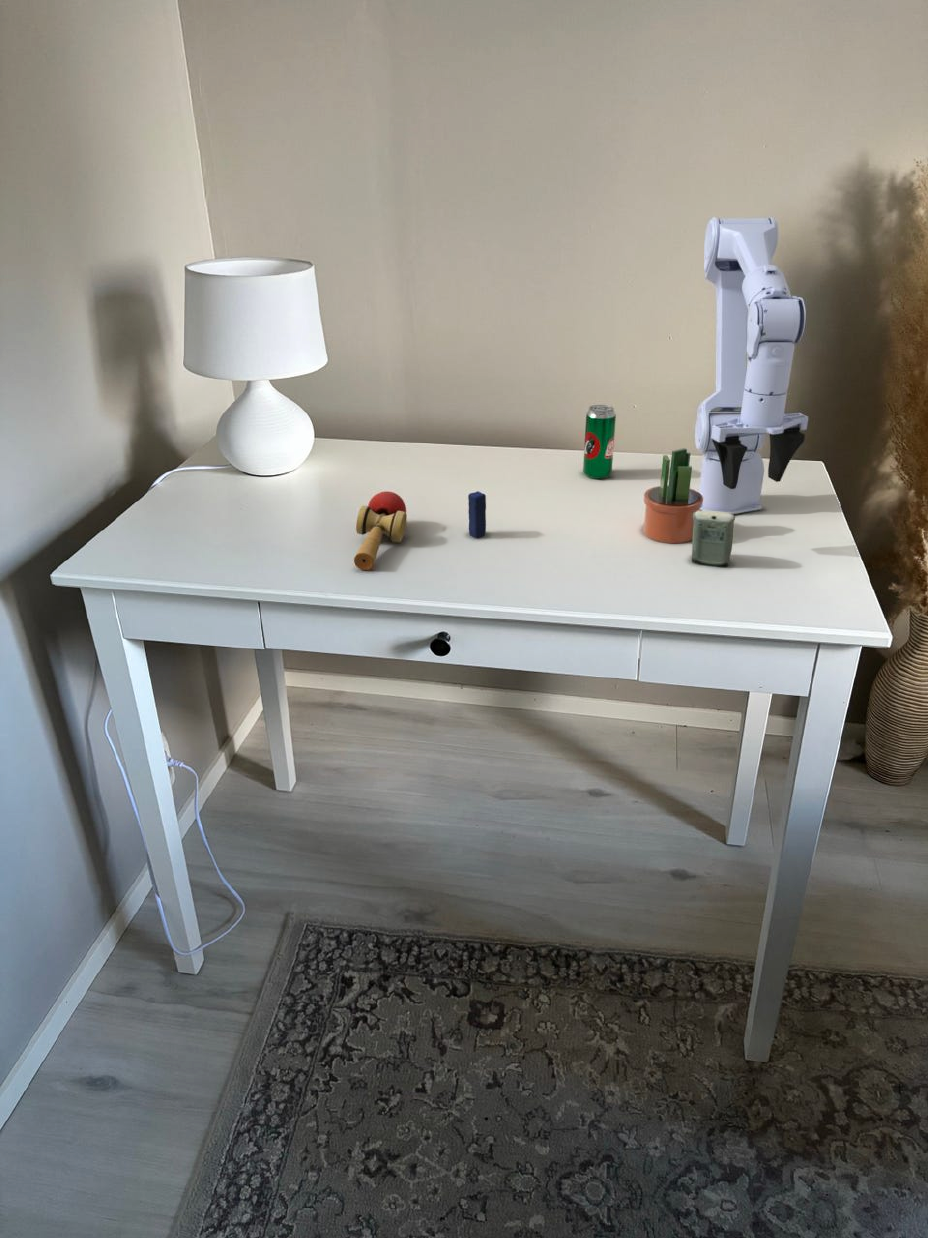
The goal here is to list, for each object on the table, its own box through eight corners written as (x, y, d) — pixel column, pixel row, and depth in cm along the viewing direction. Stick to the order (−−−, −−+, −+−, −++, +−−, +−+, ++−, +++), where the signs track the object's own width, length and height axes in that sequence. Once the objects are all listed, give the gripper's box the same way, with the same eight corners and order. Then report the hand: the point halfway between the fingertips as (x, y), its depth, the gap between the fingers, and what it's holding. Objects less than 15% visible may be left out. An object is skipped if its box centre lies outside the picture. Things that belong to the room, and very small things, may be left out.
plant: (679, 517, 155) (688, 436, 149) (710, 539, 148) (720, 455, 141) (630, 525, 152) (637, 443, 146) (659, 548, 145) (668, 462, 139)
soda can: (610, 480, 169) (615, 413, 163) (581, 478, 170) (585, 411, 164) (612, 470, 173) (617, 404, 168) (584, 468, 174) (587, 403, 168)
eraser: (487, 535, 150) (487, 494, 146) (475, 539, 149) (475, 497, 145) (478, 531, 151) (478, 489, 148) (467, 534, 150) (466, 493, 147)
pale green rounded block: (697, 572, 138) (704, 520, 134) (681, 557, 143) (687, 506, 139) (734, 568, 139) (742, 516, 135) (717, 552, 144) (724, 502, 140)
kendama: (397, 580, 140) (419, 514, 154) (386, 542, 136) (410, 479, 150) (346, 584, 141) (373, 519, 156) (334, 548, 138) (362, 485, 152)
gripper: (737, 403, 128) (724, 499, 134) (828, 391, 132) (811, 485, 139) (707, 389, 133) (696, 482, 140) (795, 378, 138) (781, 469, 145)
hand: (752, 482), depth 140 cm, fingers open, 7 cm apart
